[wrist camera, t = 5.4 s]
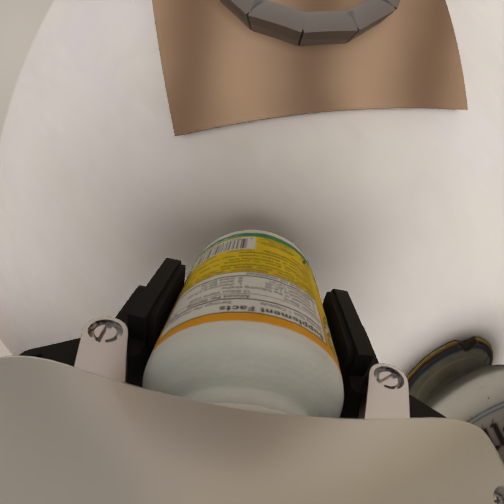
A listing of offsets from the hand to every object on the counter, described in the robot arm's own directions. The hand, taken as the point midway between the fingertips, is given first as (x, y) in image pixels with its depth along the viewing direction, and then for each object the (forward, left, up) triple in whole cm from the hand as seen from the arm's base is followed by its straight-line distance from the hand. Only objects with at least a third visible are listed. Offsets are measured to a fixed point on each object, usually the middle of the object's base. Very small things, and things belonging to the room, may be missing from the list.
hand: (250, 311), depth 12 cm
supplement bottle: (0, 0, -2) cm, 2 cm away
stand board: (+5, +15, -7) cm, 17 cm away
